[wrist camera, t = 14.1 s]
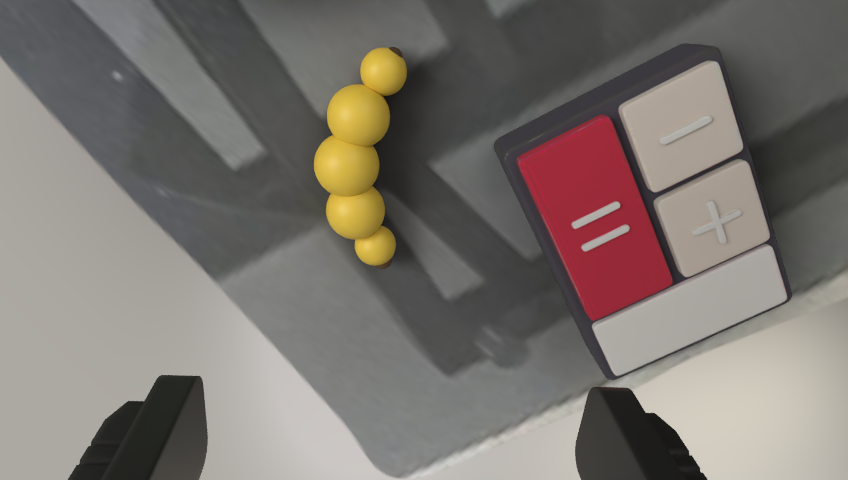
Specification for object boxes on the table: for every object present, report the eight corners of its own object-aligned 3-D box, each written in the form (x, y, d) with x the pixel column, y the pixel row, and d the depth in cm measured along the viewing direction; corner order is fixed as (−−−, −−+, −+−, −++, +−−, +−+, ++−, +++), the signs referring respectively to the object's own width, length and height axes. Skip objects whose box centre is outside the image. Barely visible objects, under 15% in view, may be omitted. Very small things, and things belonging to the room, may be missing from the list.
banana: (317, 39, 27) (310, 45, 24) (407, 46, 28) (411, 53, 25) (316, 256, 32) (311, 283, 29) (393, 259, 32) (395, 286, 30)
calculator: (728, 42, 25) (804, 307, 31) (682, 39, 29) (756, 273, 35) (503, 157, 27) (613, 392, 32) (488, 139, 31) (588, 350, 36)
